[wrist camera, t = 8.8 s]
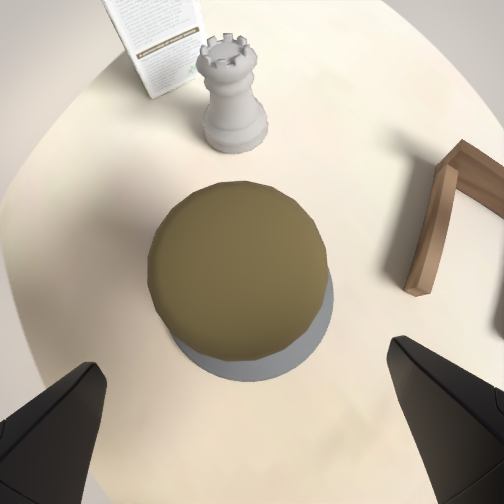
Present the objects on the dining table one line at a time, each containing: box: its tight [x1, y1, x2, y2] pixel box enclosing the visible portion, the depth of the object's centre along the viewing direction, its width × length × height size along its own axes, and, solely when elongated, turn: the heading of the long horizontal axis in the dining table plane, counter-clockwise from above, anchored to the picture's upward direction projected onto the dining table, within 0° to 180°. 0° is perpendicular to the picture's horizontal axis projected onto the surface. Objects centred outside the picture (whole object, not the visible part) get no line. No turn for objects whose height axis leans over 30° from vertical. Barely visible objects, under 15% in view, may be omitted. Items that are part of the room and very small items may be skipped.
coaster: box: [170, 268, 334, 382], centre depth 19 cm, size 10×10×1 cm
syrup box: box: [102, 0, 208, 99], centre depth 16 cm, size 6×6×14 cm
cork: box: [148, 181, 329, 362], centre depth 13 cm, size 6×6×11 cm
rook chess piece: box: [195, 33, 268, 154], centre depth 18 cm, size 4×4×8 cm
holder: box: [404, 139, 504, 297], centre depth 17 cm, size 10×11×4 cm
